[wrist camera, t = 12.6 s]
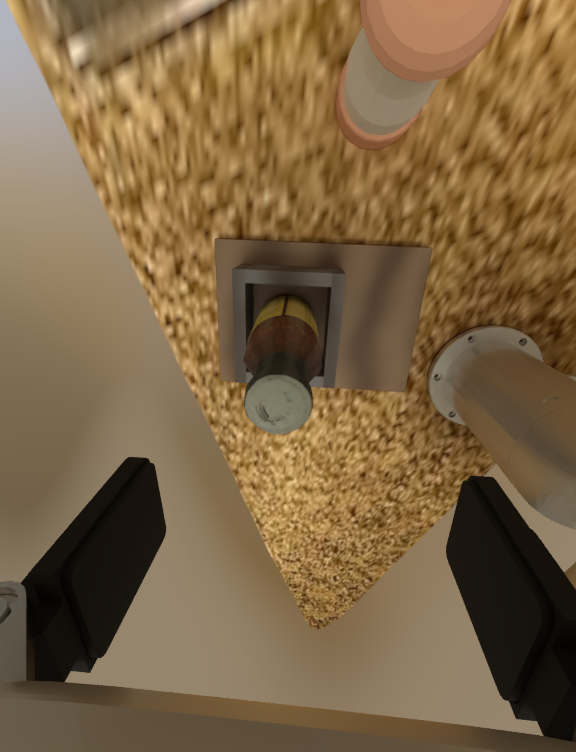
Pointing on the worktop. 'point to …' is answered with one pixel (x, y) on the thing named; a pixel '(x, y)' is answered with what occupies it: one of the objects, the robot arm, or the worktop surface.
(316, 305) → the bottle caddy
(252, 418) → the sauce bottle
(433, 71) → the pepper shaker
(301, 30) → the worktop surface
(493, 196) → the worktop surface
